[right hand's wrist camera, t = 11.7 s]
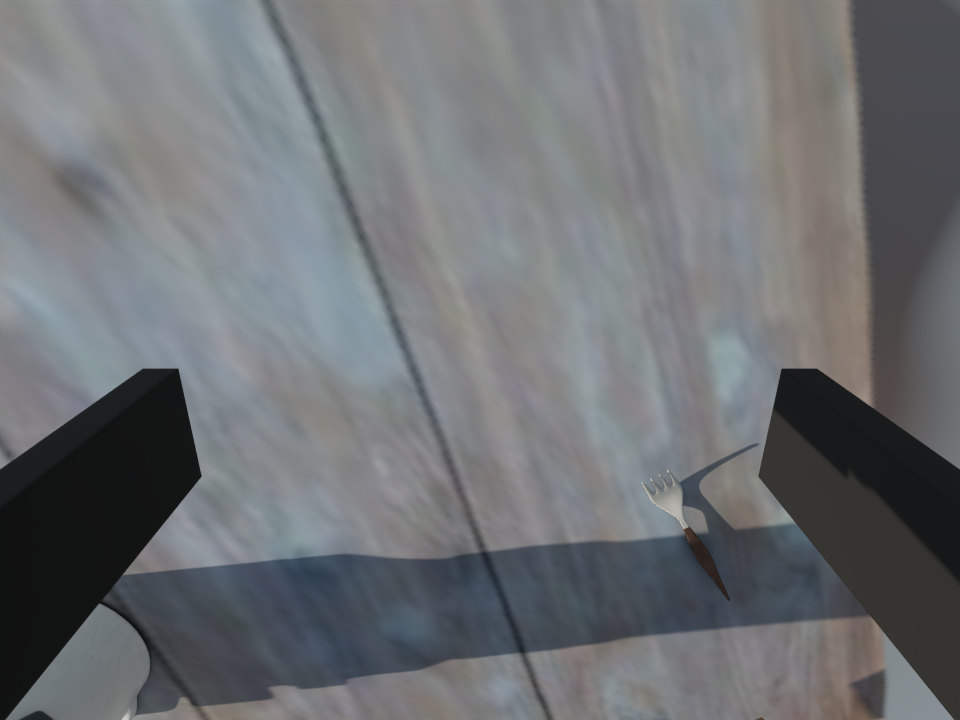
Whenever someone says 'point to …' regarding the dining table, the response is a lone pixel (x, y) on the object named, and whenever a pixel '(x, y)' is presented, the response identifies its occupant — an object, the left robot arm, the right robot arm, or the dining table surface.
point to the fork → (684, 524)
